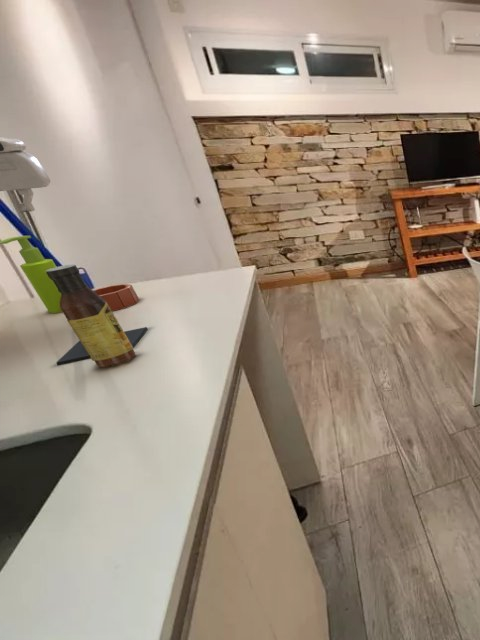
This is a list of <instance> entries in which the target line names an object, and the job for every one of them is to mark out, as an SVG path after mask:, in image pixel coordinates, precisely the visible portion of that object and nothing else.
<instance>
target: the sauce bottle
mask: <svg viewBox="0 0 480 640" xmlns="http://www.w3.org/2000/svg"><path fill="white" fill-rule="evenodd" d="M46 273H47V275H48V277H49V278H50V279H51V280H53V282H54V284H55V285H56V287H57V288H58V291H59V292H60V293H61V299H60V309H61V311H62V312H61V313H63V315H64V317H65V318H66V321H67V323H68V324H69V326H70V327H71V329H72V331H73V332H74V334H75V335H76V337H77V338H78V341H81V343H82V345H83V346H84V348H85V349H86V351H87V352H88V354H89V355H90V357H91V358H90V359H91V361H94V363H95V364H96V366H97V367H98V368H110V367H111V368H112V367H114V366H118V365H121V364H123V363H126V362H129V361H130V360H131V359H133V358H135V356H136V351H135V350H134V347H133V346H132V345H131V343H130V341H129V340H128V338H127V336H126V334H125V333H124V332H125V331H124V329H123V327H122V326H121V324H120V323H119V321H118V319H117V317H116V315H115V314H114V311H111V309H110V307H109V306H108V304H107V302H106V301H105V300H104V299H103V298H101V297H100V296H99V295H98V294H97V293H95V292H94V291H93V290H94V289H92V288H91V287H90V286H88V285H87V283H86V282H85V281H84V278H83V277H82V275H81V274H80V269H79V268H78V267H77V265H76V264H74V263H73V264H65V265H60V266H56V267H55V268H52V269H48V270H46Z"/></svg>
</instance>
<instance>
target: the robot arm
mask: <svg viewBox="0 0 480 640" xmlns="http://www.w3.org/2000/svg"><path fill="white" fill-rule="evenodd" d="M25 150H27V146H26V144H25V142H24V141H23V140H21V139H18V138H12V137H11V138H10V137H7V136H6V137H5V136H0V192H7V191H8V192H9V191H17V193H18V194H19V195H20V196H23V198H22V202H20V203H17V206H18V207H19V208H20V211H21V212H23V213H28V212H34V211H36V209H35V207H34V205H33V203H32V202H33V197H34V191H33V189H42V188H46V187H48V186H49V185H50V184H51V179H50V176H49V175H48V173H47V171H46V170H45V168H44V166H43V165H42V164H41V162H40V161H39V159H37V157H35V156H34V155H33V154H32V153H30V152H28V151H25Z"/></svg>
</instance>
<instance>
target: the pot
mask: <svg viewBox="0 0 480 640" xmlns="http://www.w3.org/2000/svg"><path fill="white" fill-rule="evenodd" d="M92 290H93V291H94V292H95V293H97V294H98V295H99V296H100V297H101V298H103V299H104V300H105V301H106V302H107V304H108V306H109V307H110V309H111V311H112V312H114V311H118V310H123V309H125V308H128V307H131V306H133V305H136V304H138V302H139V301H140V298H139V296H138V294H137V292H136V290H135V288H134V287H133V285H132V284H129V283H120V284H113V285H112V284H111V285H108V286H103V287H100V288H99V287H98V288H96V289H92Z"/></svg>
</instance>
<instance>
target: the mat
mask: <svg viewBox="0 0 480 640" xmlns="http://www.w3.org/2000/svg"><path fill="white" fill-rule="evenodd" d="M147 331H148V327H147V326H144V327H139V328H135V329H129V330H125V331H124V333H125V334H126V336H127V338H128V340H129V341H130V343H131V345H132V346H133V348H134V347H135V346H136V344H137V343H138V342H139V341H140V340H141V339H142V338H143V336H144V335H145V334H146V332H147ZM88 359H91V357H90V355H89V354H88V352H87V351H86V349H85V348H84V346H83V345H82V343H81V341H80V340H78V341H77V343H75V344H74V345H73V346H72V347H71V348H70V349H69V350H67V352H66V353H65V354H64V355H63V356H61V357H60V358H59V359H58V360H57V361H56V365H57V366H60V365H65V364H68V363H69V364H70V363H74V362H78V361H82V360H83V361H84V360H88Z"/></svg>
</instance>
